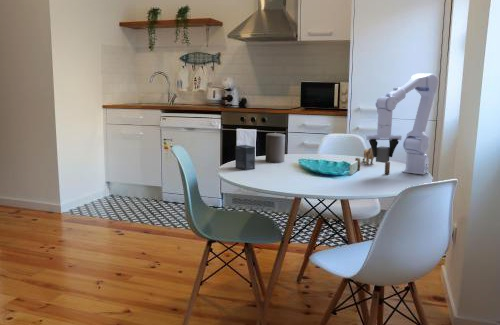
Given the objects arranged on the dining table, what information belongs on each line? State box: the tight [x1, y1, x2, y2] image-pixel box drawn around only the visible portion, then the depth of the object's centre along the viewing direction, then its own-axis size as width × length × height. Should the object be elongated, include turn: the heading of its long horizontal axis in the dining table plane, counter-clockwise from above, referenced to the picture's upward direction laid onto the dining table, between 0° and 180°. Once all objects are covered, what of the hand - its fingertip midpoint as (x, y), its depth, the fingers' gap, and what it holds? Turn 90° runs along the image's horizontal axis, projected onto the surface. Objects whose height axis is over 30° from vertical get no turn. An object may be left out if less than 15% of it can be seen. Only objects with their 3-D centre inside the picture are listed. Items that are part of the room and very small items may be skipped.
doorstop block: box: [375, 145, 390, 164], centre depth 201 cm, size 4×5×6 cm
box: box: [235, 144, 256, 171], centre depth 218 cm, size 8×6×11 cm
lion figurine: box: [362, 147, 375, 166], centre depth 233 cm, size 15×5×9 cm, turn 8°
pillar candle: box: [265, 131, 286, 164], centre depth 236 cm, size 10×10×15 cm
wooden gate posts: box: [354, 157, 391, 175], centre depth 212 cm, size 16×2×6 cm, turn 54°
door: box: [347, 160, 358, 175], centre depth 211 cm, size 10×2×4 cm, turn 154°
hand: (382, 156), depth 201 cm, fingers closed on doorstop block, 6 cm apart
